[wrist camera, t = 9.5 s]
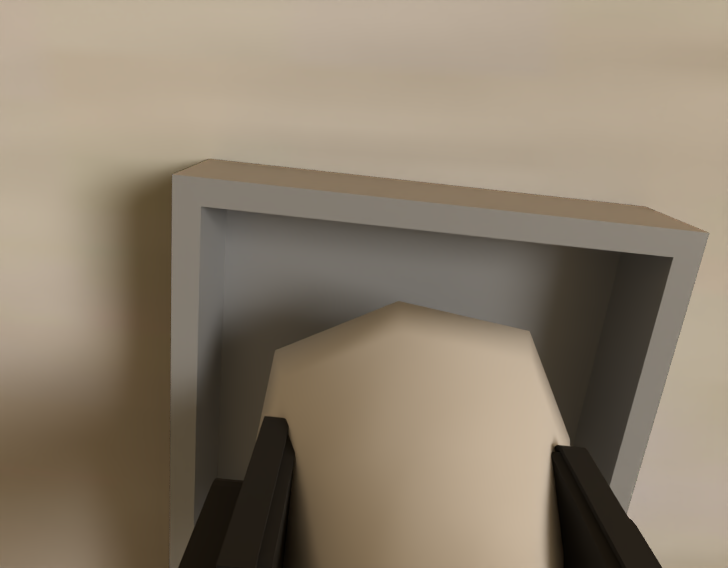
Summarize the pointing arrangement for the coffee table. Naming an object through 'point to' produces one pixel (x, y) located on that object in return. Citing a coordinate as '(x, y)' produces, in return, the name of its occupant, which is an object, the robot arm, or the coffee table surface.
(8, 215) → the coffee table surface
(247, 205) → the tray
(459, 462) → the flask
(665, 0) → the coffee table surface
